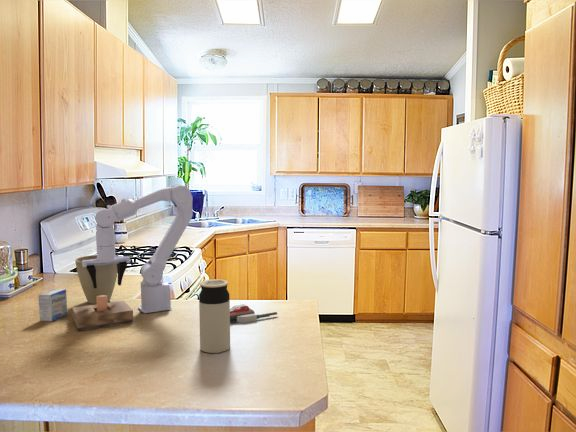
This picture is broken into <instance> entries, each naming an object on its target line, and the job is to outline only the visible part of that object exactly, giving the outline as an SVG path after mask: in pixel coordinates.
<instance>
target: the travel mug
mask: <svg viewBox="0 0 576 432" xmlns="http://www.w3.org/2000/svg"><path fill="white" fill-rule="evenodd" d="M199 285H200V287H201V291H200V293H199V294H198V302H199V304H198V308H199V313H198V314H199V315H198V316H199V349H200V350H201V351H202V352H204V353H208V354H217V353H219V354H220V353H223V352H226V351H228V350H229V349H230V348H231V323H230V309H231V308H230V307H231V305H230V302H231V301H230V298H231V297H230V293H229V291H228V285H229V281H228V280H226V279H220V278H219V279H218V278H217V279H216V278H215V279H206V280H202V281H200V282H199Z"/></svg>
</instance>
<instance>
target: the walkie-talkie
mask: <svg viewBox="0 0 576 432" xmlns="http://www.w3.org/2000/svg"><path fill="white" fill-rule="evenodd" d="M276 315H278V312H277V311H276V312H274V311H273V312H268V313H261V314H256V313H255V310H253V309H251V308H250V307H249V306H248V305H247V304H245V303H244V304H238V305H233V306H232V307H231V308H230V324H234V323H239V324H241V323H242V324H243V323H244V324H245V323H252V322H257V320H260V319H261V318H262V319H263V318H268V317H269V318H270V317H271V316H276Z"/></svg>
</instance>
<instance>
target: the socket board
mask: <svg viewBox="0 0 576 432" xmlns="http://www.w3.org/2000/svg"><path fill="white" fill-rule="evenodd" d="M107 304H108V310H105V311H98V312H97V304H90V305H89V304H88V305H81V306H73V307H71V310H72V311H71V313H72V315H71V316H72V321H73V323H74V326H75V328H76V330H77V332H83V331H88V330H89V331H90V330H96V329H101V328H108V327H113V326H122V325H129V324H133V323H134V310H133V309H132V307H130V306H129V305H128V304H127V302H126V301H125V300H120V301H119V300H118V301H112V302H110V301H109V302H107Z"/></svg>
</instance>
